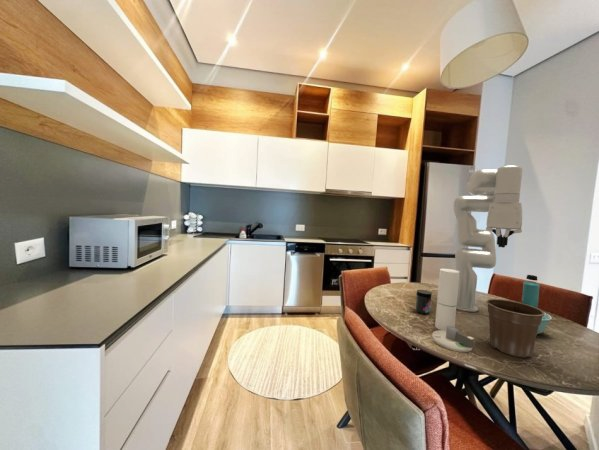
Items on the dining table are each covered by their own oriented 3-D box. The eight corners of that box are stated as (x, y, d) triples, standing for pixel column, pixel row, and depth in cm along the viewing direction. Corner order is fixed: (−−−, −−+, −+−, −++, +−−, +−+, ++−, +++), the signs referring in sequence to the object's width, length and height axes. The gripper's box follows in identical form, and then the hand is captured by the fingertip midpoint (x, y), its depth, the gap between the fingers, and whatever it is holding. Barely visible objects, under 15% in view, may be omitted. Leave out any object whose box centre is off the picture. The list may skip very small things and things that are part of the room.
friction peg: (443, 335, 96) (444, 327, 96) (450, 334, 98) (451, 325, 98) (467, 349, 87) (468, 339, 87) (475, 347, 89) (476, 337, 89)
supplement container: (420, 315, 120) (422, 294, 119) (412, 309, 127) (413, 289, 126) (433, 315, 121) (435, 294, 120) (424, 309, 128) (425, 289, 127)
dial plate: (427, 340, 96) (427, 336, 95) (439, 330, 104) (439, 327, 104) (466, 356, 86) (467, 351, 86) (476, 344, 95) (476, 339, 95)
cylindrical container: (451, 326, 110) (456, 269, 108) (456, 333, 103) (461, 273, 101) (433, 323, 112) (438, 267, 111) (436, 329, 105) (441, 271, 104)
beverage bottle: (540, 317, 125) (544, 277, 124) (525, 315, 127) (529, 276, 126) (531, 311, 132) (535, 274, 131) (516, 310, 133) (520, 273, 132)
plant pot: (477, 334, 103) (481, 295, 102) (527, 343, 97) (531, 303, 96) (490, 354, 88) (494, 309, 87) (549, 367, 82) (555, 319, 81)
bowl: (539, 342, 99) (542, 321, 99) (494, 325, 113) (495, 307, 112) (556, 334, 106) (558, 315, 106) (511, 319, 120) (513, 302, 120)
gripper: (480, 198, 98) (475, 245, 99) (531, 198, 87) (526, 250, 88) (484, 199, 103) (480, 244, 104) (534, 199, 92) (528, 249, 93)
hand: (501, 246), depth 96 cm, fingers closed
